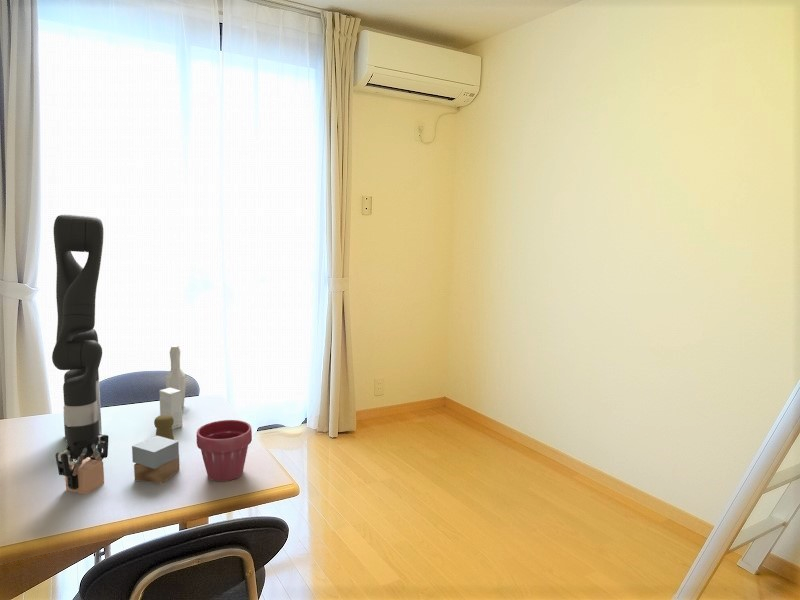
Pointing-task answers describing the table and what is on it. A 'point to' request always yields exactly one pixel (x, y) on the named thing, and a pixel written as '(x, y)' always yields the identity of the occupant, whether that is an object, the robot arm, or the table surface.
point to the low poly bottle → (176, 373)
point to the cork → (164, 426)
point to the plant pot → (224, 448)
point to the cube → (88, 476)
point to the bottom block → (156, 472)
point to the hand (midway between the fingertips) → (85, 482)
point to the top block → (155, 451)
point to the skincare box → (171, 405)
